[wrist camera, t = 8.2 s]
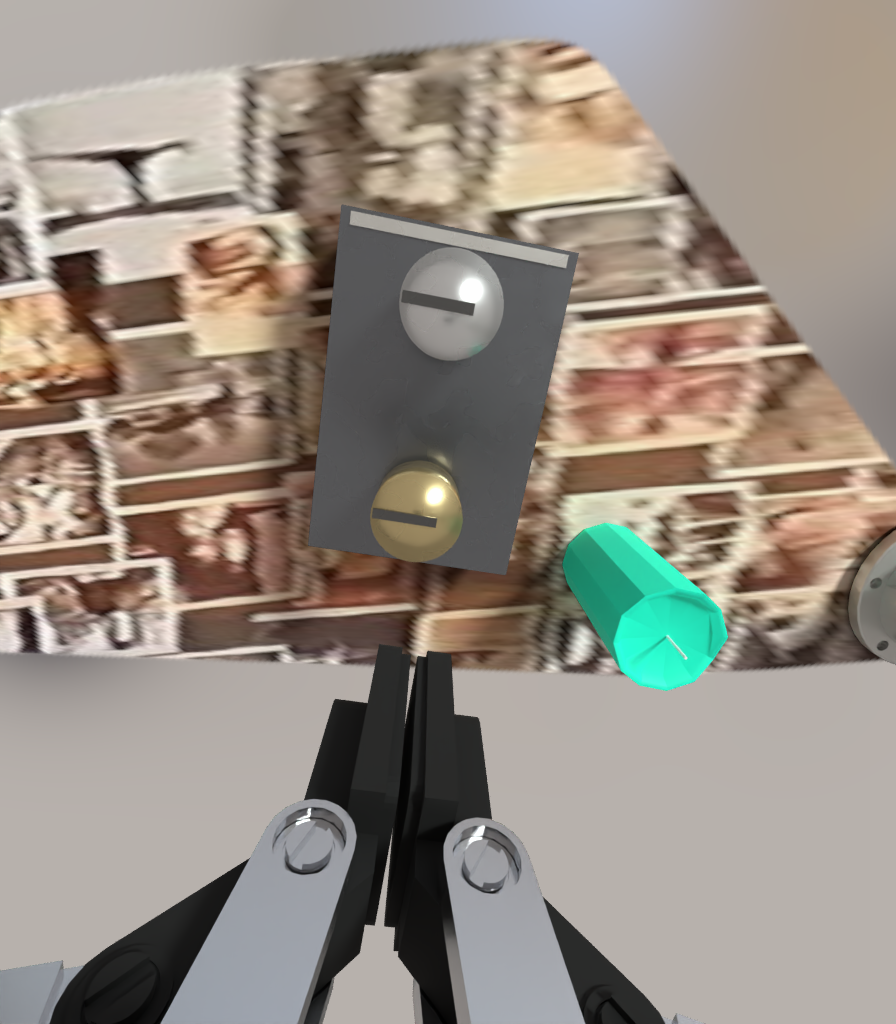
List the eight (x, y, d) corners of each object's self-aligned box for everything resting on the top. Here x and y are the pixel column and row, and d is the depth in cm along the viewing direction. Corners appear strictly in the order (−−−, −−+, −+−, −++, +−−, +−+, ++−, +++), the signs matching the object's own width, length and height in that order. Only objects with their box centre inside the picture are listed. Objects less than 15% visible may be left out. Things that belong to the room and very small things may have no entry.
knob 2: (461, 453, 31) (470, 482, 24) (448, 520, 33) (454, 569, 25) (390, 441, 31) (376, 467, 23) (380, 509, 32) (364, 555, 25)
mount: (554, 270, 29) (579, 252, 25) (495, 545, 35) (505, 575, 30) (356, 230, 29) (341, 203, 24) (325, 519, 34) (307, 546, 29)
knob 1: (491, 286, 28) (514, 258, 21) (477, 367, 30) (492, 368, 22) (414, 270, 28) (407, 236, 20) (402, 353, 29) (392, 350, 22)
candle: (586, 613, 36) (656, 728, 25) (547, 550, 35) (603, 643, 23) (658, 573, 36) (765, 672, 24) (621, 507, 34) (718, 580, 23)
